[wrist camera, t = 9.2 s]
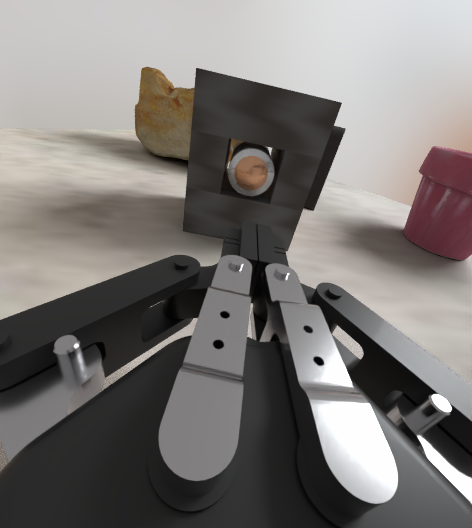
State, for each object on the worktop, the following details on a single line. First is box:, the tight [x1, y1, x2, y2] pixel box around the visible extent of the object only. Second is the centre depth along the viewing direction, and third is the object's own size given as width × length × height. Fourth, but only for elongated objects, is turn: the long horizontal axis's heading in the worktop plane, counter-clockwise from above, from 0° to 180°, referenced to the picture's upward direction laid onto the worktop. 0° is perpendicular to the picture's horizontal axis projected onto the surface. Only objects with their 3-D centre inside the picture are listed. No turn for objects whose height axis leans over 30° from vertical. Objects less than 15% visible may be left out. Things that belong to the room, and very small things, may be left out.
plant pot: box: [403, 146, 472, 260], centre depth 36 cm, size 14×14×13 cm
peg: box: [228, 140, 274, 196], centre depth 28 cm, size 4×10×4 cm, turn 178°
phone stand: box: [304, 126, 345, 210], centre depth 42 cm, size 9×6×12 cm, turn 158°
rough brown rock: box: [135, 67, 237, 163], centre depth 50 cm, size 23×17×15 cm
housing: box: [183, 68, 342, 251], centre depth 28 cm, size 12×10×14 cm
